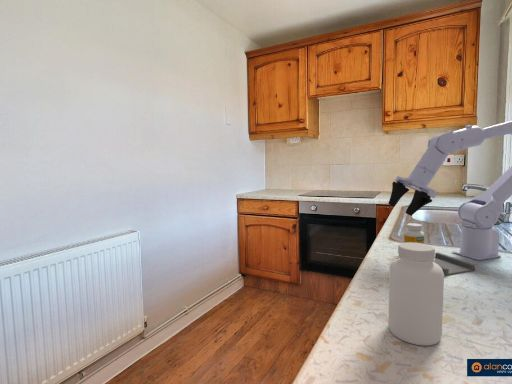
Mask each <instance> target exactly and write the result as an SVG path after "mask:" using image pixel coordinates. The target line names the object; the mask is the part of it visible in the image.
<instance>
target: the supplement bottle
mask: <svg viewBox="0 0 512 384" xmlns="http://www.w3.org/2000/svg"><path fill="white" fill-rule="evenodd" d="M422 230H423V224H421V223H414V222H409V223H407V224H406V230H405V231H404V233H403V243H408V242H413V243H422V244H425V232H423V231H422Z"/></svg>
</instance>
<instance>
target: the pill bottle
mask: <svg viewBox="0 0 512 384" xmlns="http://www.w3.org/2000/svg"><path fill="white" fill-rule="evenodd" d="M397 250H398V251H397V253H398V255H397V256H398V258H396V259H394V260H393V261H392V262H391V263H390V264H389V265H390V266H389V274H388V275H389V277H388V278H389V279H388V280H389V282H388V283H389V285H388V320H387V321H388V329H389V330H390V332H391V333H392V334H393V335H394V336H395V337H396V338H398V339H399V340H402V341H404V342H405V343H409V344H413V345H415V346H416V345H417V346H427V347H428V346H432V345H436V344H437V343H439V342H440V341H441V339H442V334H443V314H444V312H443V311H444V309H443V308H444V288H445V286H444V285H445V275H444V273H443V270H442V268H441V267H440V266H439V265H438V264H436V263H434V261H435V258H434V257H435V253H436V249H435V248H434V246H432V245H430V244H426V243H424V244H422V243H413V242H408V243H404V242H401V243H400V244H398V246H397Z"/></svg>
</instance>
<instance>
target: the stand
mask: <svg viewBox="0 0 512 384" xmlns="http://www.w3.org/2000/svg"><path fill="white" fill-rule="evenodd" d="M434 258H435V261H434V263H436V264H438V265H439V266H440V267H441V268H442V270H443V273H444V277H445V276H446V277H447V276H451V275H458V274H464V273H469V272H474V271H476V264H474V263H471V262H469V261H465V260H462V259H459V258H456V257H453V256H450V255H447V254H444V253H441V252H435V257H434Z"/></svg>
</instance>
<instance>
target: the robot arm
mask: <svg viewBox="0 0 512 384" xmlns="http://www.w3.org/2000/svg"><path fill="white" fill-rule="evenodd" d="M506 135H511V136H512V120H510V121H506V122H501V123H498V124H494V125H491V126H487V127H484V128H482V127H480V126H477V125H472V124H468V125H465V126H464V128H461V129H456V130H453V129H451V130H448V131H447V132H445V133H441V134H436V135H435V136H433V137H432V138H431V139H428V143H427V149H426V150H425V152H424V153H423V155H421V158H420V159H419V161H418V162H417V164H416V165H415V167H414V168H413V170H412V172H411V173H410V174H409V176H408V177H402V176H400V175H397V177H396V178H395V179H394V181H393V182H392V185H391V186H392V187H391V194H390V197H389V200H388V204H389V206H390V207H391V206H392V208H393V207H394V208H395V206H396V205H397V204H398V202H400V200H401V198H402V197H403V196H404V195H405V194H407V193H408V192H409V191H410V189H411V190H414V193H413V196H412V199H411V202H410V203H409V204H408V207H407V208H406V210H405V214H407V215H408V216H410V217H411V216H414V214H415V213H416V212H417V211H419V210H420V209H421V208H422V207H424V206H427V205H429V204H430V203H432V201H433V199H435V198H436V196H437V195H438V192H437V191H436V190H435V189H433V188H431V187H428V186H429V184H430V183H431V181H432V180H433V179H434V177H435V176H436V174H437V173H438V171H439V170H440V168H441V166H442V165H443V164H444V163H445V160H446V159H447V157H448V156H449V154H454V153H455V152H456V151H460V150H466V149H468V148H473V147H477V146H481V145H482V144H483V143H484V141H486V140H487V139H491V138H497V137H501V136H506ZM511 197H512V165H511V166H510V167H508V169H507V170H505V172H504V173H503V174H502V175H500V176H499V177H498V179H496V180H495V181H494V182H493V183H492V184H491V185H490V186H489V187H488V188H487V189H486V190H485V191H484V192H483V193H480V194H478V195H475V196H473V197H472V198H471V199H469V200H468V201H465V202H463V203H462V204H460V205H459V207H458V209H457V215H458V217H459V219H460V220H461V228H460V229H461V231H460V245H459V247H460V248H459V249H458V250H457V249H456V250H453V251H452V253H454V254H457V255H460V256H463V257H466V258H469V259H473V260H477V261H482V260H487V259H495V258H501V257H502V255H501V254H499V244H500V233H499V230H498V229H497V228H496V227H495V225H496V224H497V223H498V220H499V217H500V216H501V214H502V213H504V206H503V204H504V203H505V202H507V200H509V199H510V198H511Z"/></svg>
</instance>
